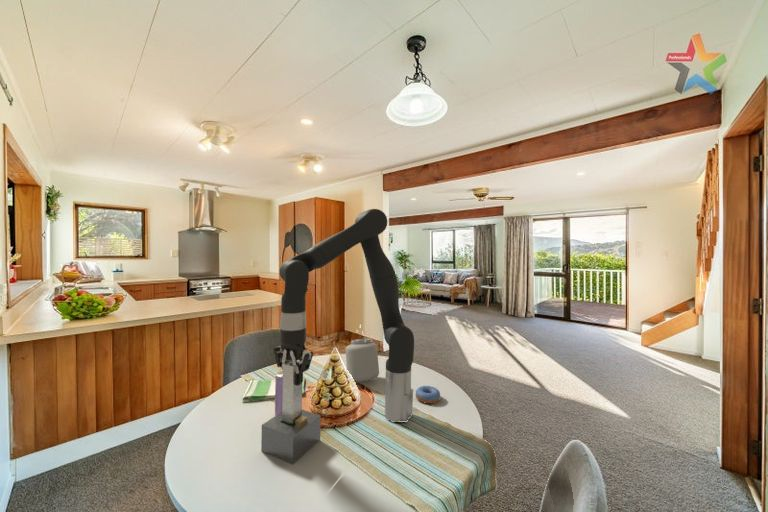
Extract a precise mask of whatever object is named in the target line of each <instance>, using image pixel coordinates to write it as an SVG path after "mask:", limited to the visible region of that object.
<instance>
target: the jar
mask: <svg viewBox="0 0 768 512" xmlns="http://www.w3.org/2000/svg"><path fill="white" fill-rule="evenodd" d="M361 326H362V324H360V325H359V328H360V329H361ZM356 332H358V330H357V329H356ZM361 332H362V333H361V334H362V335H364V333H363V332H364V331H361ZM350 343H351V344H348V345H347V346H346V348H345V358H346V360H345V361H346V371H347V370H348V371H349V373H350V374H351V375H352V377H353V379H354V380H355V381H356V383H359V382H361V383H362V382H368V381H372V380H375V379H377V378H378V377H379V375H380V367H379V354H378V346H377V343H375V342H373V341H371V338H359V339H352V340H350ZM355 381H354V382H355Z"/></svg>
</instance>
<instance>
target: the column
mask: <svg viewBox="0 0 768 512" xmlns="http://www.w3.org/2000/svg"><path fill="white" fill-rule="evenodd" d="M298 361H299V360H297V362H298ZM299 368H300V364H299ZM282 371H283V402H282V423H284V424H287V425H290V426H294V425H295V420H297V419H298V418H299V417H301V416H302V410H303V396H302V384H300V385H298V386H296V385H295V373H296V371H295V366H293V362H292V361H290V362H287V363H285V364H283V370H282Z"/></svg>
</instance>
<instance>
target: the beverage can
mask: <svg viewBox="0 0 768 512" xmlns="http://www.w3.org/2000/svg"><path fill="white" fill-rule="evenodd" d="M274 380H275V399H274V417H275V416H277V415H278V414H280V413H281V412H282V402H283V370H281V371H278V372H276V374H275V379H274Z"/></svg>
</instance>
